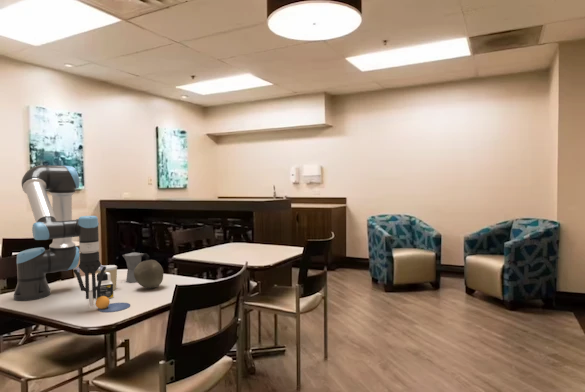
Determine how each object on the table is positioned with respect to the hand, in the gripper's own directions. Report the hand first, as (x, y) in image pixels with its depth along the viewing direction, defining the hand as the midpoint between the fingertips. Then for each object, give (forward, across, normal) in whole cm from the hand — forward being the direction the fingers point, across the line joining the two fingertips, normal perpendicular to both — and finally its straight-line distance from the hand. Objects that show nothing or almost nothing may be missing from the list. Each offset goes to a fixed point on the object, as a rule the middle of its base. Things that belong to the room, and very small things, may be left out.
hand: (91, 305), depth 172 cm
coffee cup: (+2, +5, +35) cm, 36 cm away
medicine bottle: (+2, +4, +20) cm, 21 cm away
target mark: (+2, +9, 0) cm, 9 cm away
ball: (-1, +4, 0) cm, 4 cm away
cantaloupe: (+2, +25, +27) cm, 37 cm away
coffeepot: (+2, +19, +49) cm, 53 cm away
